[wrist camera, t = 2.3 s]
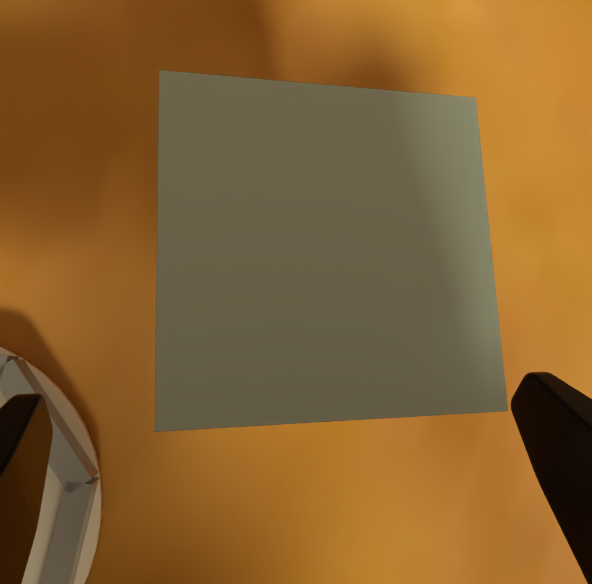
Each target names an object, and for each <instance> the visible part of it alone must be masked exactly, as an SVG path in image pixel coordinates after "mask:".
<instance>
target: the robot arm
mask: <svg viewBox="0 0 592 584" xmlns="http://www.w3.org/2000/svg"><path fill="white" fill-rule="evenodd" d="M511 410H512V413H513V416H514V419H515V421H516V424H517V427H518V429H519V432H520V435H521V437H522V440H523V443H524V445H525V448H526V451H527V453H528V456H529V459H530V461H531V464H532V467H533V469H534V472H535V474H536V477H537V479H538V482H539V484H540V486H541V488H542V490H543V493H544V495H545V497H546V499H547V501H548V503H549V505H550V507H551V509H552V511H553V513H554V515H555V517H556V519H557V521H558V523H559V525H560V527H561V530H562V532H563V534H564V536H565V538H566V540H567V542H568V544H569V546H570V548H571V550H572V552H573V554H574V556H575V558H576V560H577V562H578V564H579V566H580V568H581V571H582V573H583V575H584V577H585V579H586V581H587V583H588V584H592V399H591V398H589V397H587V396H586V395H584V394H583V393H581V392H579V391H578V390H576V389H575V388H573V387H572V386H570V385H568V384H567V383H565V382H564V381H562V380H560V379H559V378H557V377H556V376H554V375H552V374H551V373H548V372H531V373H528V374H526V375H525V376H524V378H523V379H522V381H521V383H520V385H519V387H518V388H517V390H516V392H515V394H514V396H513V397H512V400H511ZM52 438H53V426H52V422H51V418H50V415H49V411H48V408H47V404H46V400H45V398H44V396H43V395H42V394H39V393H31V394H17V395H14V396H13V397H11V398H10V399H9V400H8V401H7V402H6V403H5V404H4V405H3V406H2V407H1V408H0V584H21V583H22V580H23V577H24V573H25V570H26V566H27V563H28V559H29V556H30V552H31V549H32V546H33V542H34V538H35V534H36V530H37V526H38V521H39V515H40V510H41V504H42V498H43V492H44V486H45V480H46V474H47V468H48V462H49V456H50V450H51V444H52Z"/></svg>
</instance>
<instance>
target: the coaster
mask: <svg viewBox="0 0 592 584" xmlns="http://www.w3.org/2000/svg"><path fill="white" fill-rule="evenodd" d="M31 393H39V394H42V395H43V396H44V398H45V400H46V404H47V408H48V411H49V415H50V418H51V422H52V426H53V438H52V444H51V450H50V456H49V462H48V468H47V474H46V480H45V486H44V492H43V498H42V504H41V510H40V515H39V521H38V526H37V530H36V534H35V538H34V542H33V546H32V549H31V552H30V556H29V559H28V563H27V566H26V570H25V573H24V577H23V580H22V583H21V584H85V582H86V580H87V577H88V575H89V573H90V570H91V566H92V563H93V560H94V556H95V553H96V550H97V546H98V540H99V534H100V529H101V523H102V504H103V493H102V482H101V472H100V467H99V463H98V459H97V455H96V450H95V447H94V445H93V442H92V440H91V437H90V434H89V432H88V429H87V427H86V425H85V423H84V422H83V420H82V418H81V416H80V414H79V413H78V411H77V409H76V407H75V406H74V405H73V404H72V402H71V401H70V400H69V398H68V397H67V396H66V394H65V393H64V392H63V391H62V389H61V388H60V387H59V386H58V385H57V384H56V383H54V382H53V381H52V380H51V379H50V378H49V377H48V376H47V375H46V374H45V373H44V372H43V371H41V370H40V369H38V368H37V367H36V366H34V365H33V364H32V363H30V362H29V361H27V360H26V359H24V358H22V357H20V356H19V355H17V354H15V353H13V352H11V351H9V350H7V349H6V348H3V347H1V346H0V408H1V407H2V406H3V405H4V404H5V403H6V402H7V401H8V400H9V399H10V398H11V397H13V396H14V395H17V394H31Z"/></svg>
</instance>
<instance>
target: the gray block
mask: <svg viewBox="0 0 592 584" xmlns="http://www.w3.org/2000/svg"><path fill="white" fill-rule="evenodd" d="M500 411H508V405H507V396H506V386H505V376H504V367H503V357H502V347H501V338H500V328H499V318H498V309H497V299H496V289H495V280H494V270H493V260H492V250H491V241H490V231H489V221H488V212H487V202H486V192H485V183H484V173H483V163H482V154H481V144H480V134H479V125H478V115H477V105H476V98H473V97H462V96H450V95H439V94H427V93H416V92H404V91H393V90H382V89H370V88H359V87H347V86H336V85H324V84H313V83H301V82H290V81H279V80H267V79H256V78H244V77H233V76H221V75H210V74H198V73H187V72H175V71H164V70H159V121H158V203H157V285H156V367H155V432H160V431H177V430H194V429H211V428H228V427H245V426H262V425H279V424H296V423H313V422H330V421H347V420H364V419H381V418H398V417H415V416H432V415H449V414H466V413H483V412H500Z"/></svg>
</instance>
